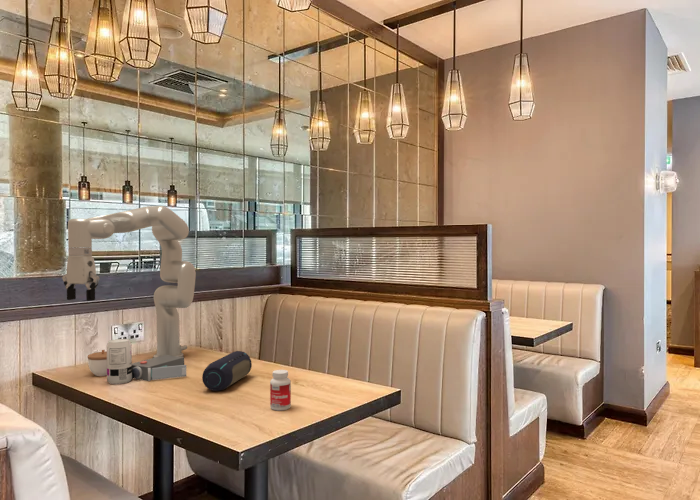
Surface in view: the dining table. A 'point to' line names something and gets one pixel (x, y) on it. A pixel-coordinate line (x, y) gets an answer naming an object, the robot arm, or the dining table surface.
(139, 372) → the camera body
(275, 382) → the pill bottle
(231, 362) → the portable speaker
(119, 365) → the supplement can
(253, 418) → the dining table surface
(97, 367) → the lidded jar
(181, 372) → the thin grey plank
